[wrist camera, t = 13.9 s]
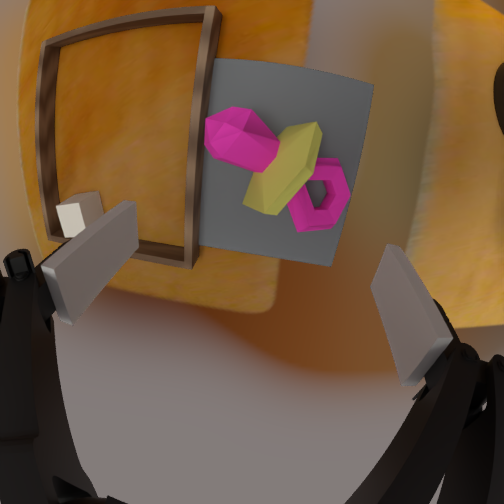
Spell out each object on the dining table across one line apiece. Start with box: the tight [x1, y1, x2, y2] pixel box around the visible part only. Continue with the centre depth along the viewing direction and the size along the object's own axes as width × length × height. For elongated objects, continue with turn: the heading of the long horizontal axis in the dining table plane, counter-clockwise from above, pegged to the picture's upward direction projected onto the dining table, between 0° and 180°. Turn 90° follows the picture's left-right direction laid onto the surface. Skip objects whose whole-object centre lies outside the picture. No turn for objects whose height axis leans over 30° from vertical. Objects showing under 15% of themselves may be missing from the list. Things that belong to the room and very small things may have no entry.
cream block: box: [56, 191, 104, 238], centre depth 34 cm, size 5×5×5 cm
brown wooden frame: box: [35, 6, 222, 270], centre depth 29 cm, size 32×26×4 cm
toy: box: [204, 107, 351, 232], centre depth 27 cm, size 10×18×10 cm, turn 53°
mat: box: [199, 58, 374, 267], centre depth 31 cm, size 24×18×1 cm
